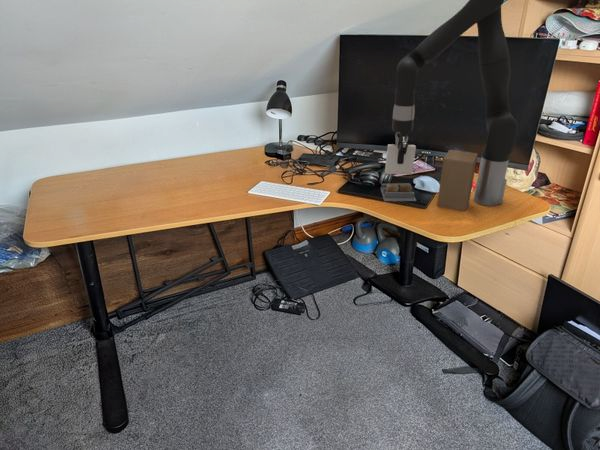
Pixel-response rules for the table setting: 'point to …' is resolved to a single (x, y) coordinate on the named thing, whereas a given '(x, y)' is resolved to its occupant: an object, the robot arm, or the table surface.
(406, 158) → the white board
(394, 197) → the charcoal rack
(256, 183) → the table surface
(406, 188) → the walnut offcut
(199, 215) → the table surface
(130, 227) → the table surface
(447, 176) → the wooden block
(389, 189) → the oak offcut
